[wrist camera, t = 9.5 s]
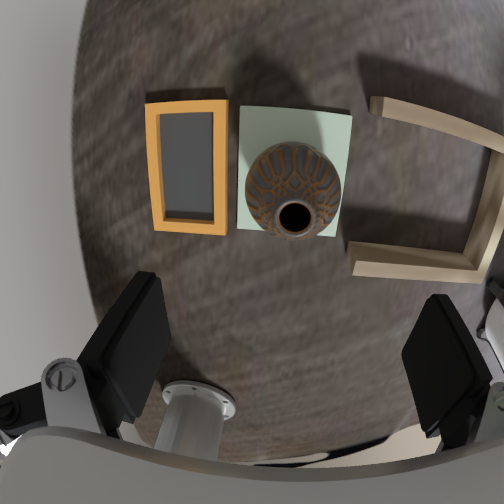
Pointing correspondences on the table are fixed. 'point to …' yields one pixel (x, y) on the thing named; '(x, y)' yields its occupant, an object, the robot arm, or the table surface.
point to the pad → (285, 130)
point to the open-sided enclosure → (484, 227)
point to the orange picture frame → (188, 165)
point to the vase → (293, 190)
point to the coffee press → (495, 322)
